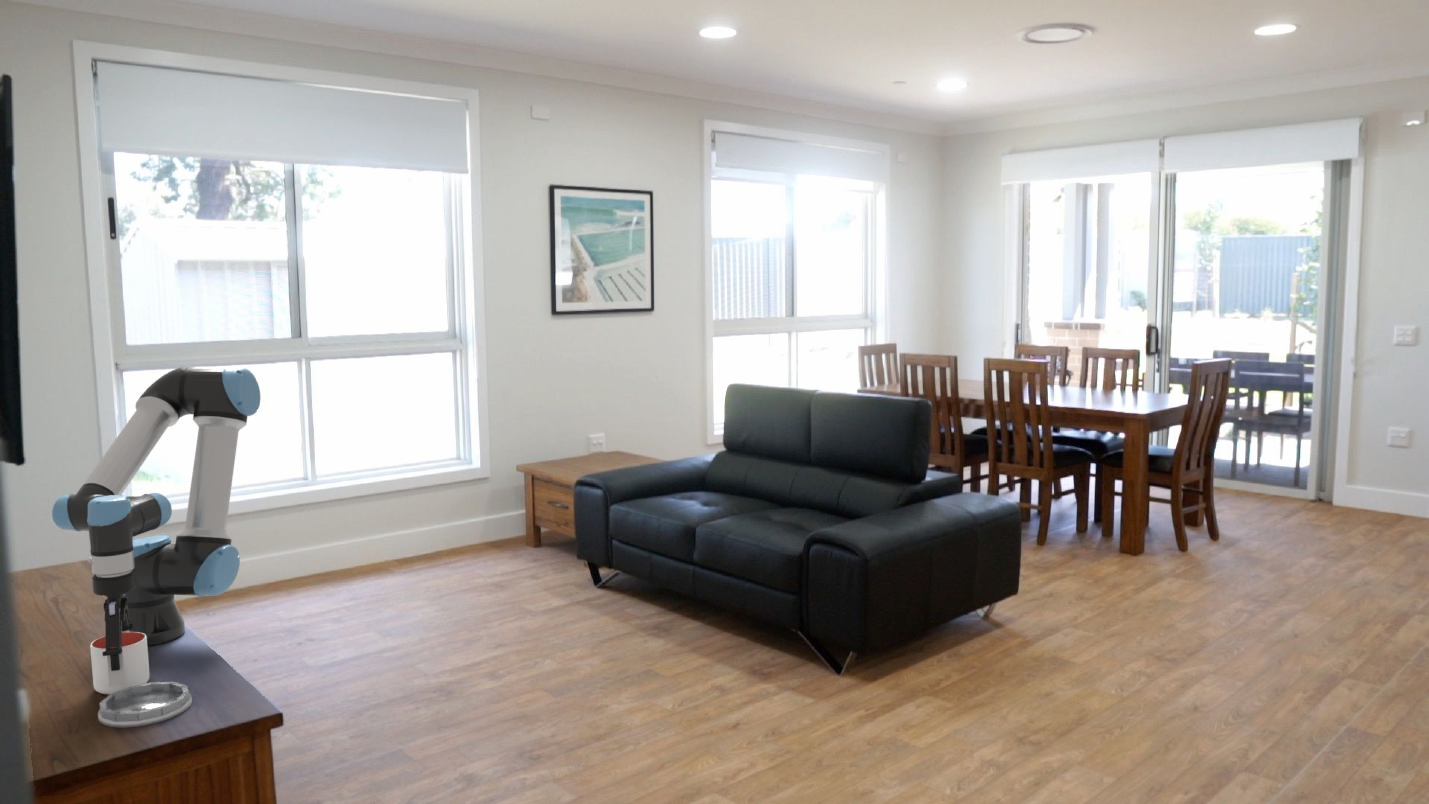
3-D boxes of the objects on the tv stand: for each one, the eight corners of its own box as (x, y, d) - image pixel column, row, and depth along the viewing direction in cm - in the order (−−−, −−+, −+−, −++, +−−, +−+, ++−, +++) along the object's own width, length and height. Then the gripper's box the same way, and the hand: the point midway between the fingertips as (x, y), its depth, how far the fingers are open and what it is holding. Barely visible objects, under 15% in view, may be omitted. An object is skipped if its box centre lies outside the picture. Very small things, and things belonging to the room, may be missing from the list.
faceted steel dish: (123, 694, 206) (122, 682, 205) (205, 691, 207) (204, 679, 207) (81, 729, 190) (80, 716, 190) (170, 726, 191) (169, 713, 191)
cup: (138, 673, 216) (134, 628, 215) (158, 685, 210) (154, 639, 209) (86, 688, 209) (82, 641, 208) (105, 701, 203) (101, 653, 201)
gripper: (99, 559, 216) (106, 655, 219) (83, 591, 194) (91, 698, 196) (139, 555, 219) (146, 650, 222) (129, 586, 197) (136, 691, 199)
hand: (120, 672), depth 209 cm, fingers open, 13 cm apart
